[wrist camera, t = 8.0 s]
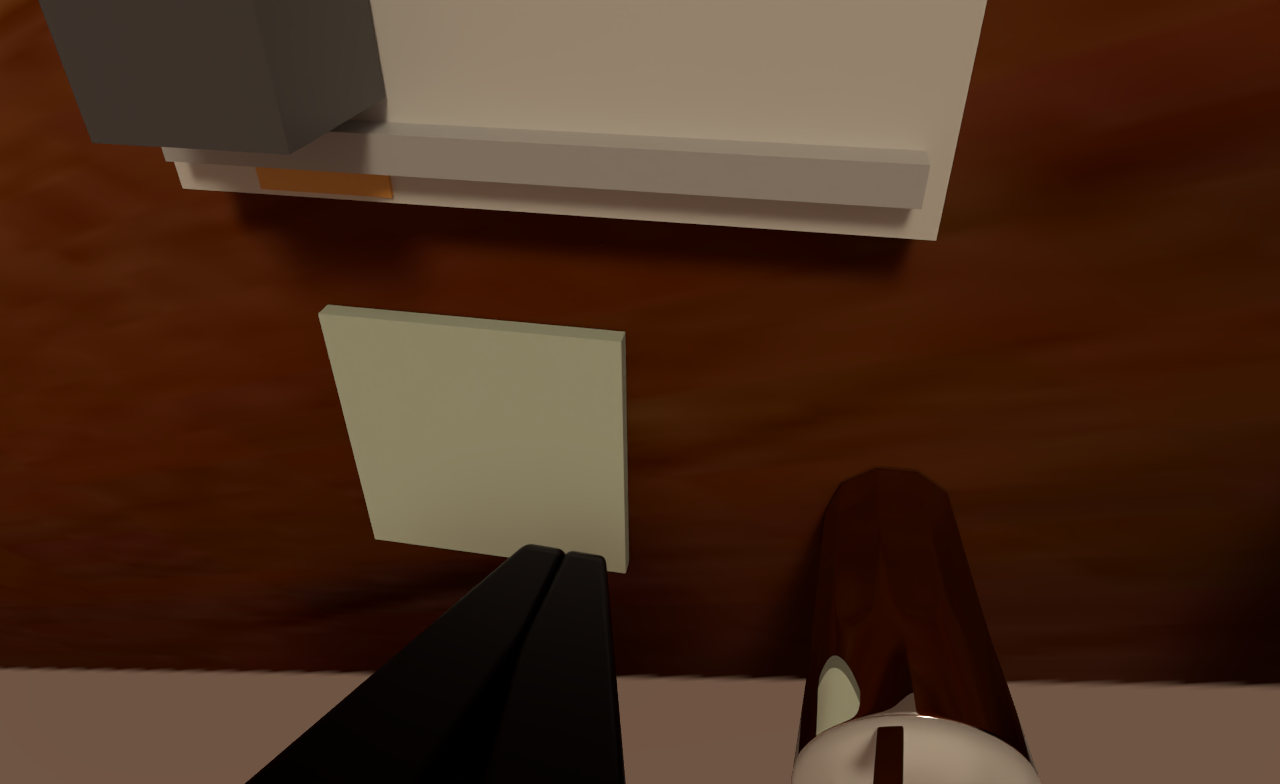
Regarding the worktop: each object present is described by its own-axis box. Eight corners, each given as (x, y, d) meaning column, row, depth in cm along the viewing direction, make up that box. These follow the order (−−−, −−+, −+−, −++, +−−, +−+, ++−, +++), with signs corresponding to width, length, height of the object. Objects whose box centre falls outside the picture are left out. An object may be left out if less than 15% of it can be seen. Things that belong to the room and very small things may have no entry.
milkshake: (960, 405, 20) (1052, 803, 12) (990, 564, 22) (1082, 981, 14) (776, 437, 21) (743, 807, 13) (823, 582, 24) (820, 967, 16)
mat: (625, 331, 20) (621, 341, 20) (629, 561, 25) (625, 573, 25) (327, 304, 22) (318, 313, 21) (382, 527, 26) (375, 538, 26)
